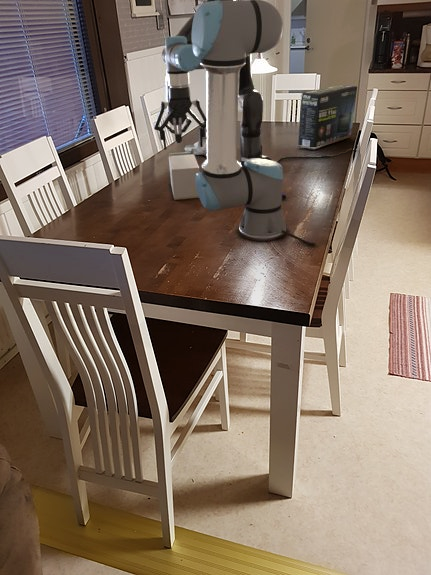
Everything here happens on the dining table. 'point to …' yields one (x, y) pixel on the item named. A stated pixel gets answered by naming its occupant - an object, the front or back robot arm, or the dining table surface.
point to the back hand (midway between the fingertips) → (178, 142)
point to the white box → (183, 176)
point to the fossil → (198, 148)
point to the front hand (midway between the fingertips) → (183, 147)
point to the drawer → (179, 153)
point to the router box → (326, 115)
